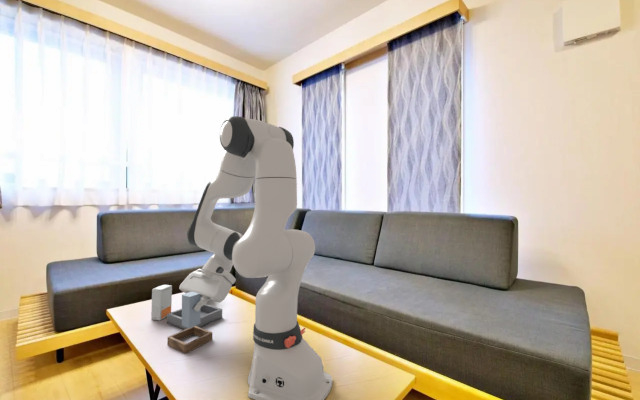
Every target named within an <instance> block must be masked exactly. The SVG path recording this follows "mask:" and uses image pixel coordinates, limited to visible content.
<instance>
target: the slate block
mask: <svg viewBox="0 0 640 400" xmlns="http://www.w3.org/2000/svg"><path fill="white" fill-rule="evenodd" d="M200 300H201V295H200V294H199V293H195V292H189V293H183V294H181V309H182V326H184V327H187V328H191V327H194V326H196V325H198V324H200V315H201V308H200V310H199V311H198V312H197V311H194V310H193V309H192V307H193V306H194V304H197V303H198V302H199V301H200Z"/></svg>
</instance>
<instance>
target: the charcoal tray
mask: <svg viewBox="0 0 640 400" xmlns="http://www.w3.org/2000/svg"><path fill="white" fill-rule="evenodd" d="M221 319H223V309H222V308H219V307H217V306H214V305H210V304H208V303H206V304H205V305H203V306H202V307H201V315H200V324H198V325H196V326H197V327H200V328H203V327H205V326H207V325H209V324H212V323H214V322H216V321H218V320H221ZM166 324H168V325H170V326H173V327H176V328H178V329H180V330H182V331H183V330H185V329H187V327H184V326H182V308H179V309H177V310H175V311H171V313H168V314H167V317H166Z"/></svg>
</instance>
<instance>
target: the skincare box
mask: <svg viewBox="0 0 640 400" xmlns="http://www.w3.org/2000/svg"><path fill="white" fill-rule="evenodd" d="M172 293H173V285H171V284H170V285H169V284H162V285H158V286H157V287H154V288H152V289H151V312H150V313H151V316H150V319H151V320H155V321H162V320H163V319H165V318H167V314H168V313H171V312H172V301H173V299H172V295H173V294H172Z"/></svg>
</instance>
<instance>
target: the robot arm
mask: <svg viewBox="0 0 640 400" xmlns="http://www.w3.org/2000/svg"><path fill="white" fill-rule="evenodd" d="M219 141H220V144H221V146H222V148H223V150H224V152H223V156H222V159H221V163H220V167H219V172H218V174H217V175H216V177H215V178H212V179H211V180H209V181H208V183H207V184H206V186H205V188H204V191H203V192H202V196H201V197H200V200H199V203H198V207H197V209H196V210H195V211H196V212H195V215H194V217H193V220H192V222H191V223H190V224H189V227H188V228H187V229H188V230H187V231H186V238H187V241H188V243H189V244H190V246H193V247H196V248H198V249H202V250H205V251H207V252H210V253H213V254H212V255H211V256H210V257H209V258H208V259H207V261H206V262H205V264H204V265H203V266H202V268H198V269H195V270H193V271H192V272H190V273H189V274H188V275H187V276H186V277H185V278H184V280H183V281H182V282H181V283H180V285H179V289H178V290H180V291H181V292H183V294H186V293H189V292H195V293H199V294H200V295H201V300H200V301H199V302H198V303H197V304H194V306H193V307H192V309H193V310H194V311H197V312H198V311H199V310H200V308H201V307H202V306H203V305H205V304H208V303H209V301H212V302H216V303H222V302H223V301H225V300H226V298H227V296H228V294H229V293H230V291H231V289H232V285H234V284H235V283H236V281H237V279H236V278H235V276H234V275H233V274H232V273H231V271H232V267H233V268H234V269H235V271H236V272H237V273H238V274H239V276H241V277H243V278H246V279H255V278H258V279H260V278H265V277H267V278H266V280H265V282H264V284H263V285H262V286H261V287H260V289H259V290H258V291H257V293H256V296H255V311H254V312H255V317H254V318H255V319H254V320H255V321H254V323H253V331H252V340H253V342H254V343H253V345H254V346H253V353H252V362H251V365H250V370H249V373H248V377H247V383H248V386H249V388H248V393H247V395H248V398H250V399H253V400H325V399H327V397H328V395H329V394H330V391H331V390H332V387H333V377H332V375H331V374H330V373H328V372H326V371H324V363H323V361H322V358H321V356H320V355H319V354H318V353H317V352H316V351H315V349H314V348H313V347H311V345H310V344H309V343H308V342H307V341H306V340H305V339H304V338H303V334H304V333H306V331H305V330H306V327H303V328H302V329H301V327H300V324H299V322H298V300H299V299H298V298H299V291H300V288H301V284H302V280H303V277H304V274H305V271H306V268H307V266H308V264H309V263H310V261H311V260H312V258H313V257H314V255H315V253H316V244H315V243H316V242H315V240H314V239H313V237H312V235H311V234H310V233H309V232H307V231H304V230H299V229H293V228H292V229H290V228H289V229H286V226H287V224H288V220H289V218H290V216H291V215H293V214H294V212H295V211H296V210H297V207H298V187H297V186H298V183H297V182H298V181H297V180H298V179H297V165H296V158H295V154H294V146H295V144H294V143H295V142H294V136H293V135H292V133H291V131H289V130H287V129H286V128H284V127H282V126H277V125H273V124H271V123H267V122H265V121H263V120H258V119H254V118H253V119H252V118H247V117H246V118H245V117H243V116H237V115H236V116H234V115H233V116H228V117H226V119H225V120H224V121H223V122H222V124H221V126H220V131H219ZM254 181H255V184H254ZM253 185H255V186H254V187H255V190H254V195H255V196H254V211H253V215H252V218H251V220H250V224H249V225H248V227H247V229H246V231H245V232H244V234H242V233H240V232H238V231H236V230H233V229H230V228H228V227H226V226H223V225H220V224H217V223H215V222H213V220H212V216H213V214H214V211H215V208H216V205H217V202H218V201H219V200H220V199H234V198H240V197H243V196H245V195H246V194H248V193H249V192H250V191H251V190H252V188H253Z"/></svg>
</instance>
